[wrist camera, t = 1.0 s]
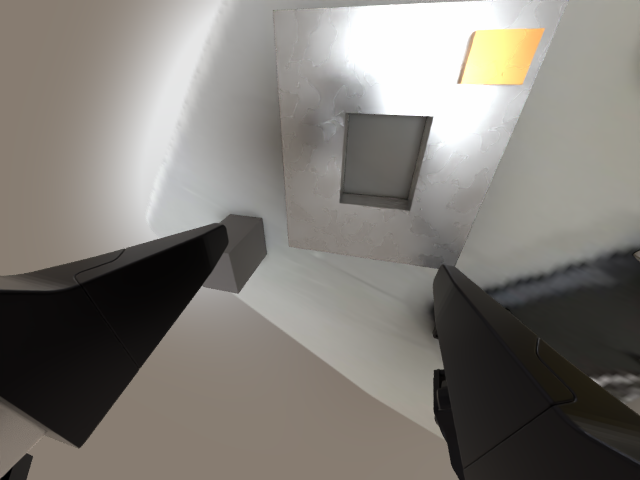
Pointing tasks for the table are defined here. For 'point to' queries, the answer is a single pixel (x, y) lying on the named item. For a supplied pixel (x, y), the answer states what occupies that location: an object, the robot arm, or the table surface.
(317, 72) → the socket plate
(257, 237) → the plug
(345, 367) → the table surface
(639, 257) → the coffee box
